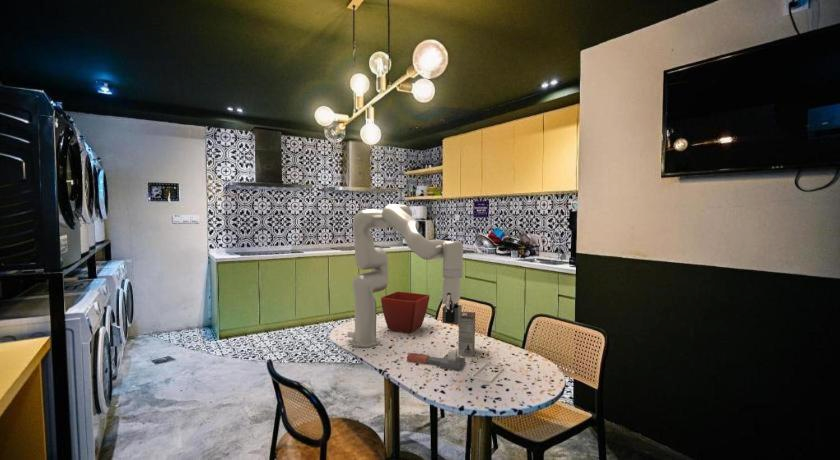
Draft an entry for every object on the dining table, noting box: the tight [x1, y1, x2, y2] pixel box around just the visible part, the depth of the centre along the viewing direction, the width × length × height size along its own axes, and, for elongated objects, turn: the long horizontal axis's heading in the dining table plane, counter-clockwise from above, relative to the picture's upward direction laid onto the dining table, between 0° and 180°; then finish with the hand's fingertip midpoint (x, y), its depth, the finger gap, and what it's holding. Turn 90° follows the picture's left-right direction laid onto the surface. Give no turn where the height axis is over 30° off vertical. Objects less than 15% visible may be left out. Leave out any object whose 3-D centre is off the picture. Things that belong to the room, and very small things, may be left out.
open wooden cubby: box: [441, 304, 463, 326], centre depth 150 cm, size 6×6×6 cm
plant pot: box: [380, 291, 431, 334], centre depth 198 cm, size 19×19×17 cm
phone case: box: [471, 362, 504, 384], centre depth 144 cm, size 7×1×15 cm
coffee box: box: [457, 311, 476, 356], centre depth 166 cm, size 9×6×16 cm
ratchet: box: [406, 349, 466, 371], centre depth 153 cm, size 22×8×6 cm, turn 72°
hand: (452, 319), depth 150 cm, fingers closed on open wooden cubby, 6 cm apart
